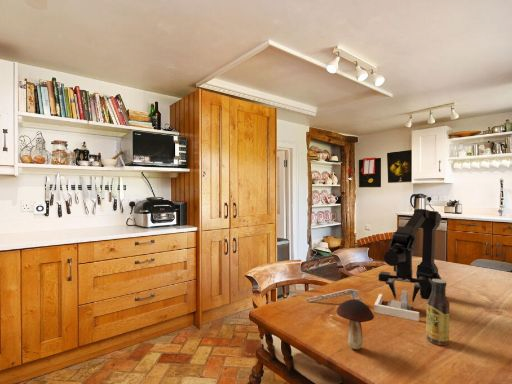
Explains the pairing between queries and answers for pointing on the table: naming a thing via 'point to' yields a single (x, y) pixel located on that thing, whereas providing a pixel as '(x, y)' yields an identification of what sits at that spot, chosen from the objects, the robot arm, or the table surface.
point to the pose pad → (407, 307)
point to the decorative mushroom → (355, 320)
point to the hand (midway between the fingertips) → (404, 300)
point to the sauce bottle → (438, 314)
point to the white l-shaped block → (394, 311)
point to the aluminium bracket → (403, 303)
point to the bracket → (353, 292)
